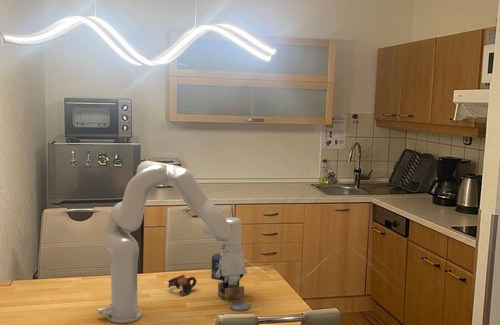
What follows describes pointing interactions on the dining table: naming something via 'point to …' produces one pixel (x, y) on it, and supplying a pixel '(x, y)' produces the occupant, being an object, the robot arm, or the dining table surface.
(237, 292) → the cradle
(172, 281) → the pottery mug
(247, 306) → the disc
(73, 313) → the dining table surface
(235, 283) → the pin
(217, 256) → the box
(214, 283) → the dining table surface
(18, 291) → the dining table surface
